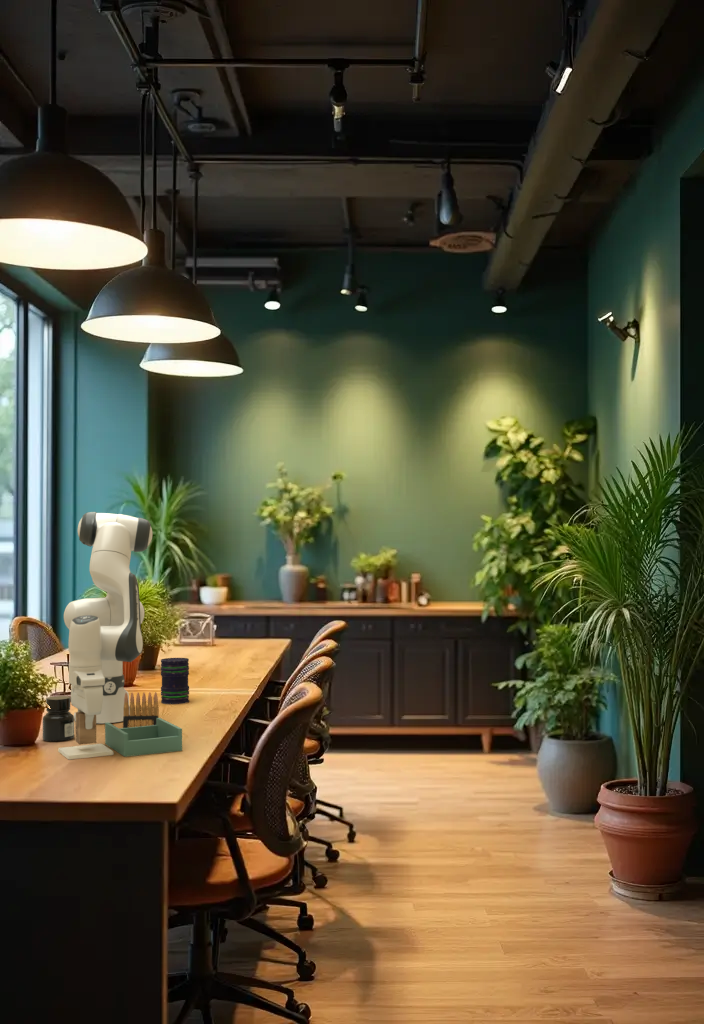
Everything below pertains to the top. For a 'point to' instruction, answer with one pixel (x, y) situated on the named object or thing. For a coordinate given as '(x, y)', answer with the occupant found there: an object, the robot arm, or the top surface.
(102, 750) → the board
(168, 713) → the top surface
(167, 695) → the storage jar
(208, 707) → the top surface
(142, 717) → the ammunition clip
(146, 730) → the box
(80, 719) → the walnut block
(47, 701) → the ink bottle
